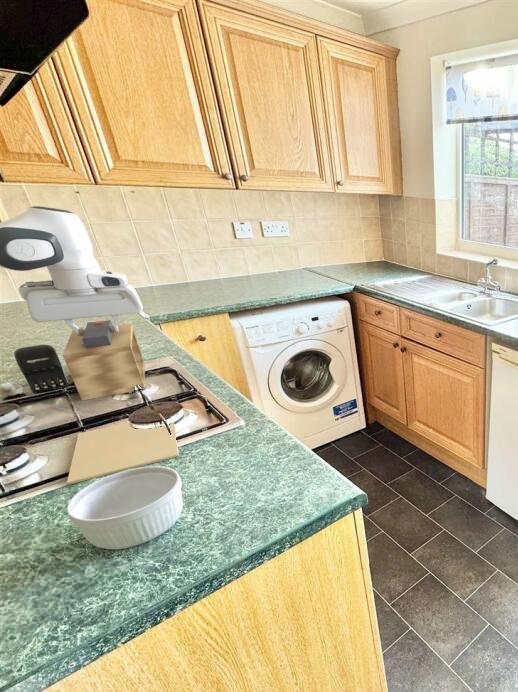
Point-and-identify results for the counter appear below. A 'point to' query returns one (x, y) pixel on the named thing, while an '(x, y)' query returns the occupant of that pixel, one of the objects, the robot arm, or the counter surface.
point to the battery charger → (41, 367)
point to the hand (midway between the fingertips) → (98, 333)
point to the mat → (120, 450)
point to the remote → (97, 334)
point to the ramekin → (128, 507)
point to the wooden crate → (106, 364)
